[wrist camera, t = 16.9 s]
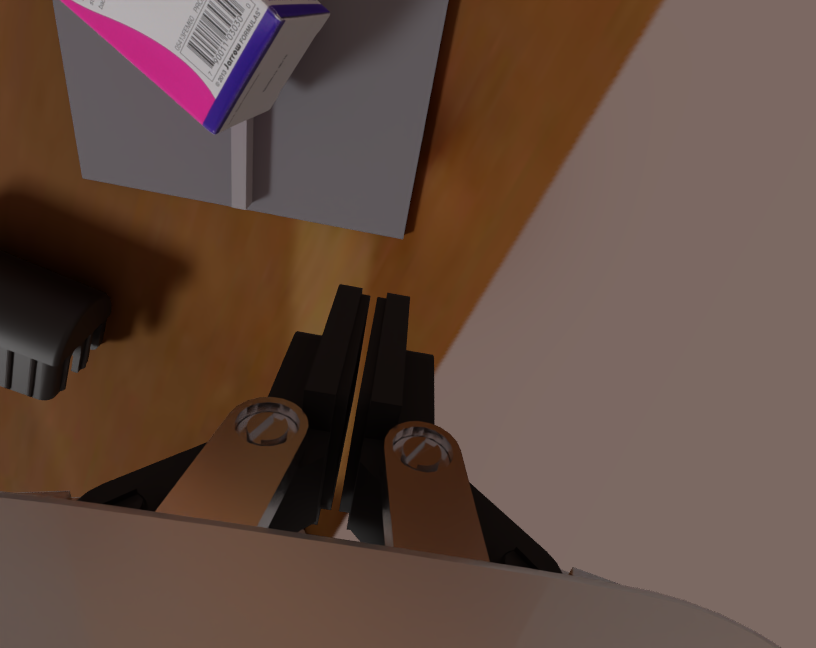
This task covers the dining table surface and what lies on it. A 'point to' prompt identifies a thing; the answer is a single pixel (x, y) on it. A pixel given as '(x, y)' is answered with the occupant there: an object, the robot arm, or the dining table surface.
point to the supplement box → (210, 49)
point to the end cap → (45, 327)
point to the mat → (274, 121)
